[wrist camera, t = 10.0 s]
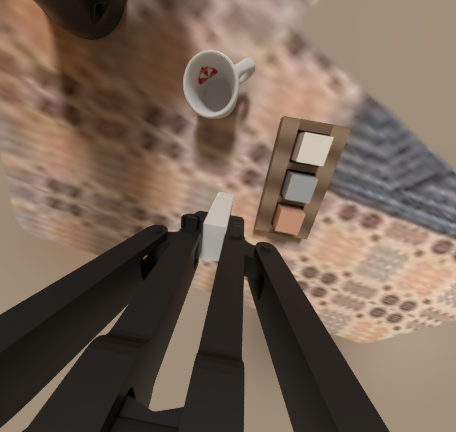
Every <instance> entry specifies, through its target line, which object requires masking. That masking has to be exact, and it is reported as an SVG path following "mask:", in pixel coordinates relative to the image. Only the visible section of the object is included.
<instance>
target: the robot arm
mask: <svg viewBox="0 0 456 432" xmlns="http://www.w3.org/2000/svg"><path fill="white" fill-rule="evenodd" d="M34 1H35V2H36V3H37V4H38V5H39V6H40V7H41V8H42V10H43V11H44V12H45V13H46V14H47V15H48V16H49V17H50V18H51V19H52V20H54V21H55V22H56V23H57V24H59V25H60V26H62V27H63V28H65V29H66V30H68V31H70V32H71V33H73V34H75V35H77V36H79V37H82V38H85V39H98V38H101V37H104V36H106V35H107V34H109V33H110V32H111V31H112V30H113V29H114V28H115V26H116V25H117V23H118V22H119V20H120V18H121V15H122V13H123V9H124V5H125V0H34ZM233 197H234V194H228V193H222V192H218V194H217V196H216V198H215V200H214V202H213V204H212V206H211V208H210V210H209V212H204V211H198V212H196V213H195V214H185V215H183V216H181V229H180V230H179V231H178V232H168V229H167V228H166V227H165V226H162V225H152V226H149V227H147V228H145V229H144V230H142V231H140V232H139V233H137V234H135V235H134V236H132V237H130V238H129V239H127V240H125V241H123V242H122V243H120V244H118V245H117V246H115V247H113V248H112V249H110V250H108V251H107V252H105V253H103V254H102V255H100V256H98V257H97V258H95V259H93V260H92V261H90V262H88V263H87V264H85V265H83V266H81V267H80V268H78V269H76V270H75V271H73V272H71V273H70V274H68V275H66V276H65V277H63V278H61V279H60V280H58V281H56V282H54V283H53V284H51V285H49V286H48V287H46V288H44V289H43V290H41V291H39V292H38V293H36V294H34V295H33V296H31V297H29V298H28V299H26V300H24V301H22V302H21V303H19V304H17V305H16V306H14V307H12V308H11V309H9V310H7V311H6V312H4V313H2V314H1V315H0V428H1V427H2V426H3V425H4V424H5V423H7V422H8V421H9V420H10V419H11V418H12V417H13V416H14V415H16V414H17V413H18V412H19V411H20V410H21V409H22V408H23V407H24V406H25V405H26V404H27V403H28V402H29V401H30V400H32V399H33V397H35V396H36V394H38V393H39V392H40V391H41V390H42V389H43V388H44V387H45V386H46V385H47V384H48V383H49V382H50V381H51V380H52V379H53V378H54V377H55V376H56V375H57V374H58V373H59V372H60V371H61V370H62V369H63V368H64V367H65V366H66V365H67V364H68V363H69V362H70V361H71V360H72V359H73V358H74V357H75V356H76V355H77V354H78V353H79V352H80V351H81V350H82V349H83V348H84V347H85V346H86V345H87V344H88V343H89V342H90V341H91V340H92V339H93V338H94V337H95V336H96V335H97V334H98V333H99V332H100V331H102V330H103V329H104V328H105V327H106V326H107V324H108V323H110V322H111V321H112V320H113V319H114V318H115V317H116V316H117V315H118V314H119V313H120V312H121V311H122V309H124V308H125V307H126V306H127V305H128V304H129V305H128V306H127V307H126V309H125V310H124V312H123V313H122V315H121V316H120V318H119V319H118V321H117V322H116V323H115V325H114V326H113V328H112V329H111V330H110V332H109V333H108V334H106V335H101V336H98V337H97V338H95V339H94V340H93V341H92V342H91V343H90V345H89V346H88V347H87V348H86V349H85V351H84V352H83V353H82V355H81V356H80V357H79V359H78V360H77V361H76V363H75V364H74V366H73V367H72V368H71V370H70V371H69V372H68V374H67V375H66V376H65V378H64V379H63V380H62V382H61V383H60V384H59V386H58V387H57V388H56V390H55V391H54V392H53V394H52V395H51V396H50V398H49V399H48V401H47V402H46V403H45V405H44V406H43V407H42V409H41V410H40V411H39V413H38V414H37V415H36V417H35V418H34V419H33V421H32V422H31V424H30V425H29V426H28V427H27V428H26V429H25V430H24V431H22V432H244V363H243V361H242V325H243V324H242V323H243V289H244V276H246V277H248V283H249V286H250V290H251V293H252V296H253V300H254V303H255V306H256V309H257V313H258V316H259V319H260V322H261V326H262V329H263V332H264V335H265V339H266V342H267V345H268V348H269V352H270V355H271V359H272V362H273V365H274V368H275V372H276V375H277V378H278V381H279V385H280V388H281V391H282V395H283V398H284V401H285V404H286V408H287V411H288V414H289V417H290V421H291V424H292V427H293V430H294V432H389V430H388V429H387V427H386V425H385V423H384V422H383V420H382V419H381V417H380V415H379V414H378V412H377V411H376V409H375V407H374V406H373V404H372V402H371V401H370V399H369V398H368V396H367V394H366V393H365V391H364V389H363V388H362V386H361V385H360V383H359V381H358V380H357V378H356V377H355V375H354V373H353V372H352V370H351V368H350V367H349V365H348V364H347V362H346V360H345V359H344V357H343V355H342V354H341V352H340V351H339V349H338V347H337V346H336V344H335V342H334V341H333V339H332V338H331V336H330V334H329V333H328V331H327V330H326V328H325V326H324V325H323V323H322V321H321V320H320V318H319V317H318V315H317V313H316V312H315V310H314V309H313V307H312V305H311V304H310V302H309V300H308V299H307V297H306V296H305V294H304V292H303V291H302V289H301V287H300V286H299V284H298V283H297V281H296V279H295V278H294V276H293V275H292V273H291V271H290V270H289V268H288V266H287V265H286V263H285V262H284V260H283V258H282V257H281V255H280V253H279V252H278V250H277V249H276V248H275V246H273V245H272V244H270V243H267V242H259V243H257V244H256V245H255V246H254V245H252V244H250V243H248V242H247V241H246V240H245V237H244V220H243V218H242V217H237V216H231V210H232V203H233ZM200 253H201V255H200ZM145 256H147V257H146V258H145V259H143V258H144V257H145ZM199 256H200V258H203V259H209V260H214V261H219V262H218V266H217V271H216V275H215V280H214V284H213V288H212V293H211V297H210V302H209V306H208V311H207V315H206V319H205V324H204V329H203V333H202V338H201V341H200V346H199V350H198V353H197V355H196V359H195V362H194V367H193V371H192V375H191V379H190V384H189V388H188V392H187V396H186V401H185V405H184V407H181V408H175V409H169V410H164V411H157V412H155V411H151V410H150V409H148V407H149V404H150V400H151V396H152V390H153V386H154V383H155V380H156V377H157V374H158V372H159V369H160V366H161V363H162V361H163V358H164V355H165V352H166V350H167V347H168V344H169V341H170V339H171V336H172V334H173V331H174V328H175V325H176V323H177V320H178V317H179V315H180V312H181V309H182V306H183V304H184V301H185V298H186V295H187V293H188V290H189V287H190V285H191V282H192V279H193V277H194V274H195V271H196V269H197V266H198V263H199Z"/></svg>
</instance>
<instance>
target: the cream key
mask: <svg viewBox="0 0 456 432" xmlns="http://www.w3.org/2000/svg"><path fill="white" fill-rule="evenodd" d="M333 139H334V137H330V136H325V135H319V134H313V133H307V132H303V133H298V135H297V138H296V142H295V145H294V148H293V152H292V155H291V159H292V160H294V161H296V162H301V163H307V164H312V165H318V166H324V163H325V160H326V158H327V155H328V152H329V149H330V147H331V144H332V141H333Z"/></svg>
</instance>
